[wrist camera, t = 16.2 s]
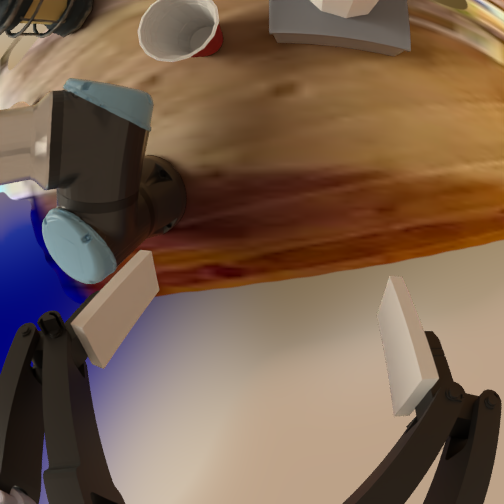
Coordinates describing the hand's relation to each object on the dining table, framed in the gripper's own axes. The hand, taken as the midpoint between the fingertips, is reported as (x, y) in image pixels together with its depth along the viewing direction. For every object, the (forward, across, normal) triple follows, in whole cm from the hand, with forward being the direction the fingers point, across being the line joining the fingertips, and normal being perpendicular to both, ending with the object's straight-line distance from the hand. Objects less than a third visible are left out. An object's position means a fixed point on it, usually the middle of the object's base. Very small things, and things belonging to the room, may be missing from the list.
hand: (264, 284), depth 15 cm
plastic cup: (+32, -14, +21) cm, 41 cm away
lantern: (+32, -44, +37) cm, 66 cm away
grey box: (+32, +6, +28) cm, 43 cm away
